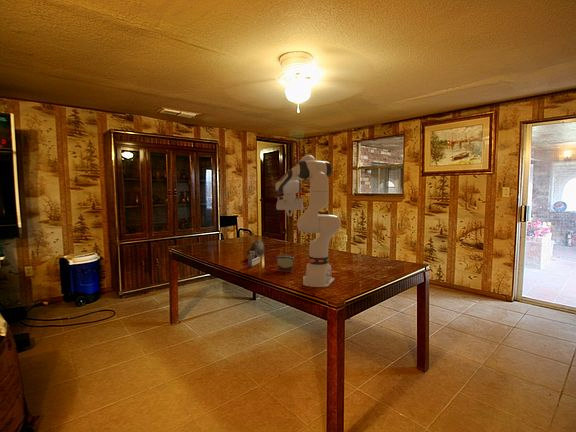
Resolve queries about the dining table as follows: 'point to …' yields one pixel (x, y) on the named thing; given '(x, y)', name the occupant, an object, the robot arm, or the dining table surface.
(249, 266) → the hinge post
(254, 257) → the latch stile
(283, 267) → the food container
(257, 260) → the gate leaf
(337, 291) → the dining table surface
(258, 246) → the stone
